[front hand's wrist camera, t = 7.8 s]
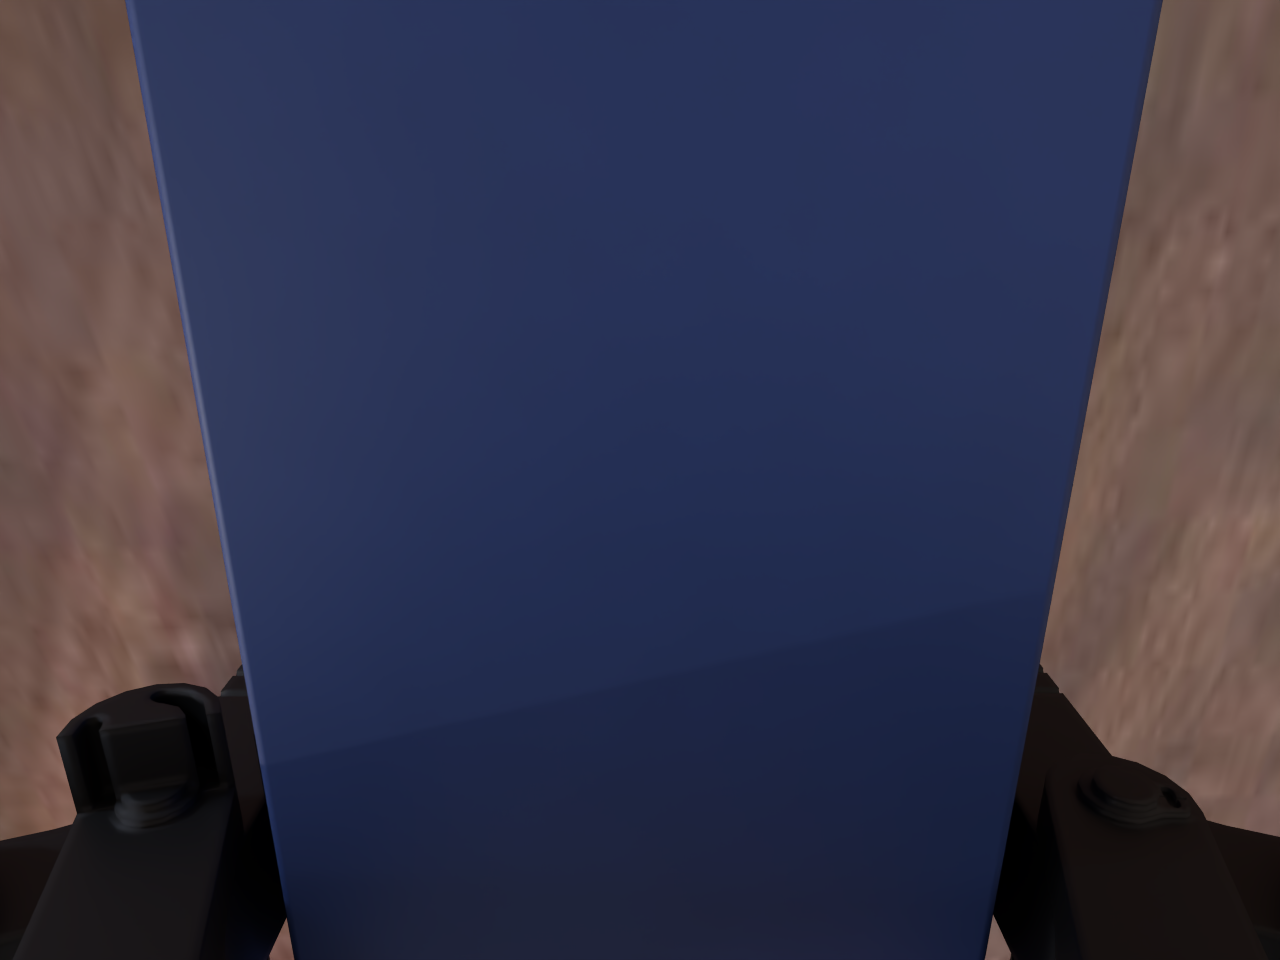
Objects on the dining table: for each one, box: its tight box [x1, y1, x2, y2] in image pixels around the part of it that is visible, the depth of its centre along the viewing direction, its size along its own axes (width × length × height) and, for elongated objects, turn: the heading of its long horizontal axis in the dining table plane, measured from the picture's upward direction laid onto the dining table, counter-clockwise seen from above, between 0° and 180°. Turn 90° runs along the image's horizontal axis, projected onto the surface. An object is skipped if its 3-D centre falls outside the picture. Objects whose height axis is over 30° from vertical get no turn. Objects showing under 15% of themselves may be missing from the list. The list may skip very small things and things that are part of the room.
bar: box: [125, 0, 1163, 960], centre depth 8 cm, size 22×6×8 cm, turn 0°
